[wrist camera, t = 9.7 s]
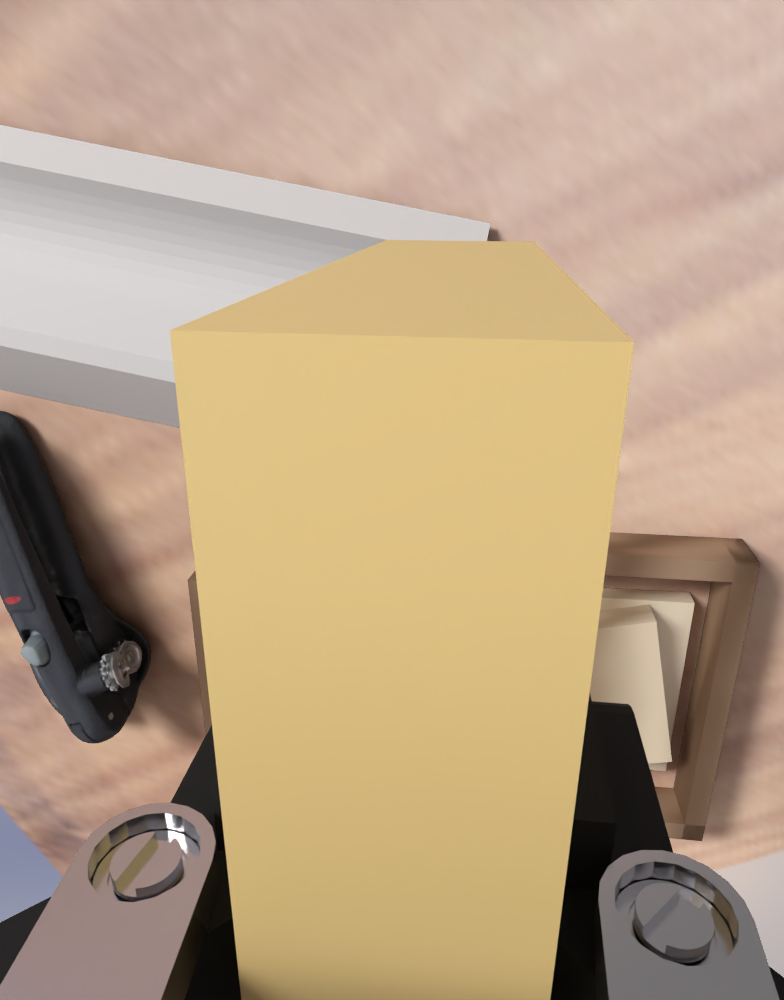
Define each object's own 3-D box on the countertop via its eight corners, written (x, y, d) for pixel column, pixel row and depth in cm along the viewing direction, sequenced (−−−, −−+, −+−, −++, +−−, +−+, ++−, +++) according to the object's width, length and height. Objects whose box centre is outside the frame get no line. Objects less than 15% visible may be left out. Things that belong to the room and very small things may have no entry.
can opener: (184, 689, 42) (141, 758, 37) (76, 704, 43) (20, 772, 38) (64, 388, 36) (-6, 420, 31) (-57, 416, 37) (-144, 451, 32)
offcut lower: (685, 584, 37) (695, 603, 35) (658, 747, 40) (665, 771, 39) (521, 575, 38) (522, 593, 36) (509, 735, 41) (510, 758, 40)
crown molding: (489, 226, 31) (490, 230, 28) (432, 483, 36) (427, 513, 33) (-209, 86, 33) (-288, 74, 29) (-176, 353, 37) (-241, 368, 34)
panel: (534, 241, 12) (633, 342, 4) (492, 812, 16) (494, 1431, 8) (386, 239, 12) (169, 330, 4) (385, 801, 17) (283, 1391, 8)
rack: (742, 539, 35) (800, 616, 28) (689, 804, 41) (727, 918, 34) (239, 514, 37) (187, 580, 31) (260, 766, 43) (220, 866, 37)
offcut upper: (649, 604, 35) (656, 621, 34) (665, 740, 38) (672, 761, 36) (522, 620, 36) (524, 638, 35) (546, 750, 39) (548, 772, 38)
